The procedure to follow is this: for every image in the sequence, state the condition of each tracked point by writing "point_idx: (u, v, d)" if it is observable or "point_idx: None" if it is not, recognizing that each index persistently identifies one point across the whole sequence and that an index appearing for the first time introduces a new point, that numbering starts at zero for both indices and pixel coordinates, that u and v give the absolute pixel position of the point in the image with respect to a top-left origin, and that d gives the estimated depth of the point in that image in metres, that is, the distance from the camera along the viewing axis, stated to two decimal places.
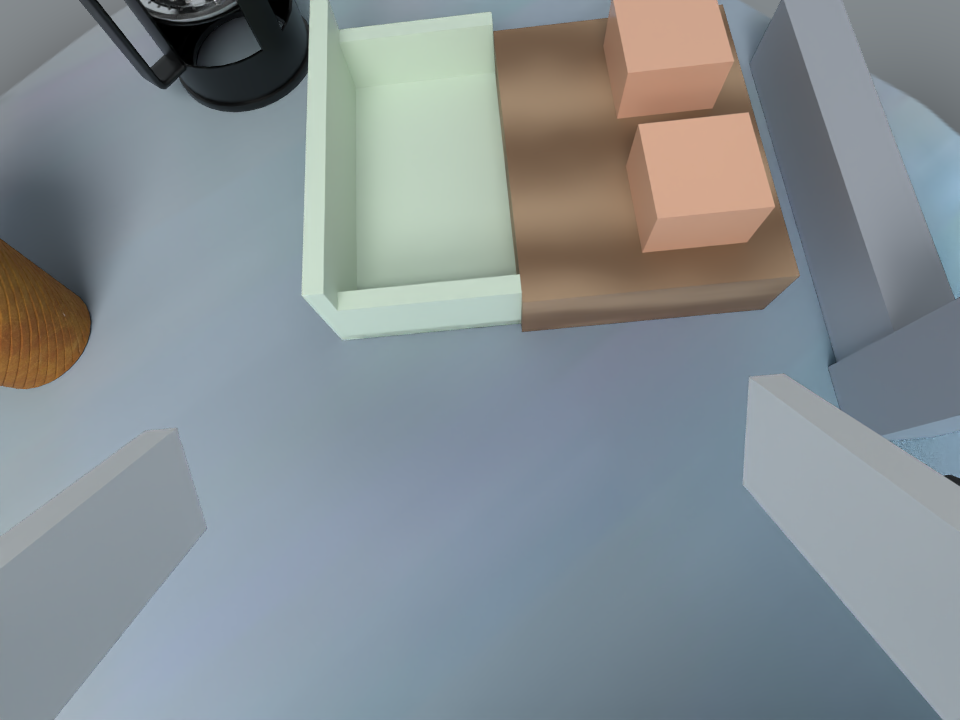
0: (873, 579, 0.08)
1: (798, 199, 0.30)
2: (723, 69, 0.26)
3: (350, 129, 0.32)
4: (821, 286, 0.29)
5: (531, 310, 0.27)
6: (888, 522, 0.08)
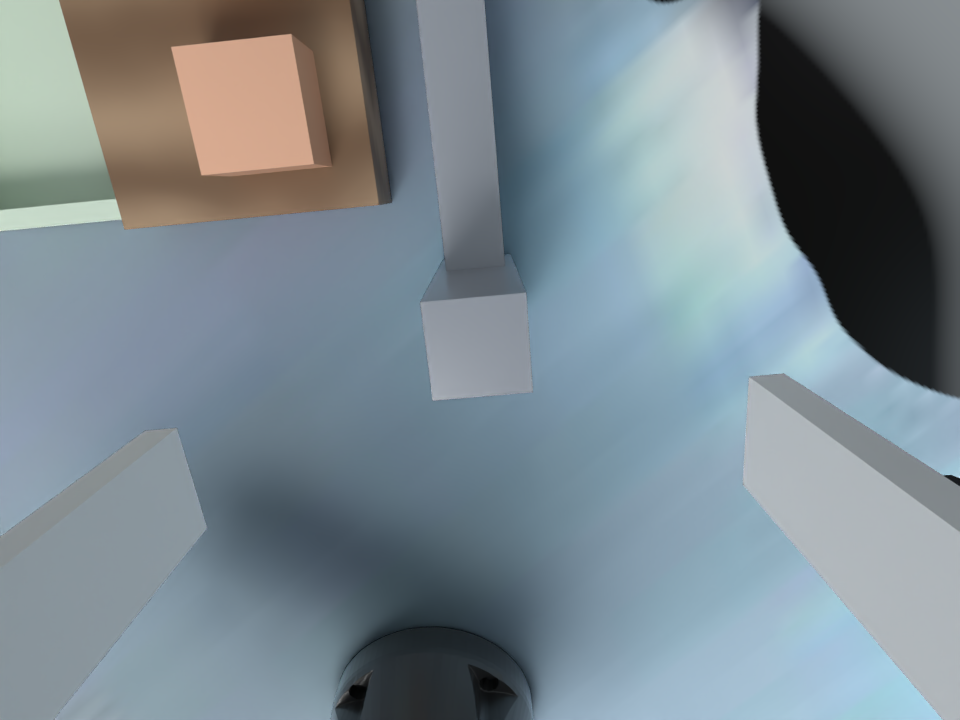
0: (873, 579, 0.08)
1: None
2: None
3: None
4: None
5: None
6: (888, 522, 0.08)
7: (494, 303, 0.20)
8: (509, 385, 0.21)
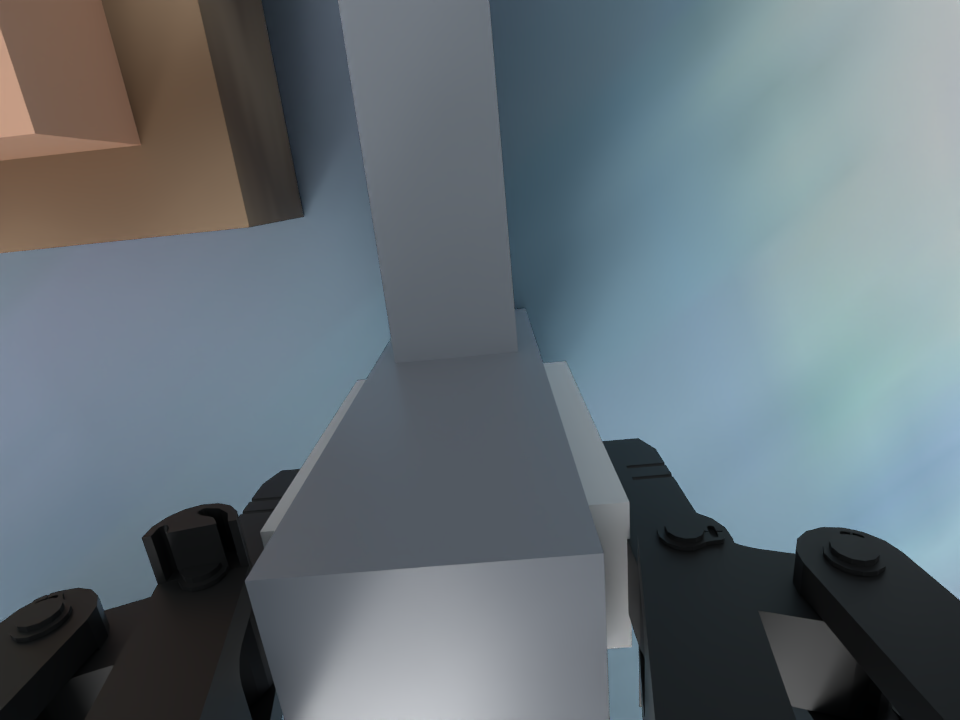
0: None
1: None
2: None
3: None
4: None
5: None
6: None
7: (494, 584, 0.06)
8: None
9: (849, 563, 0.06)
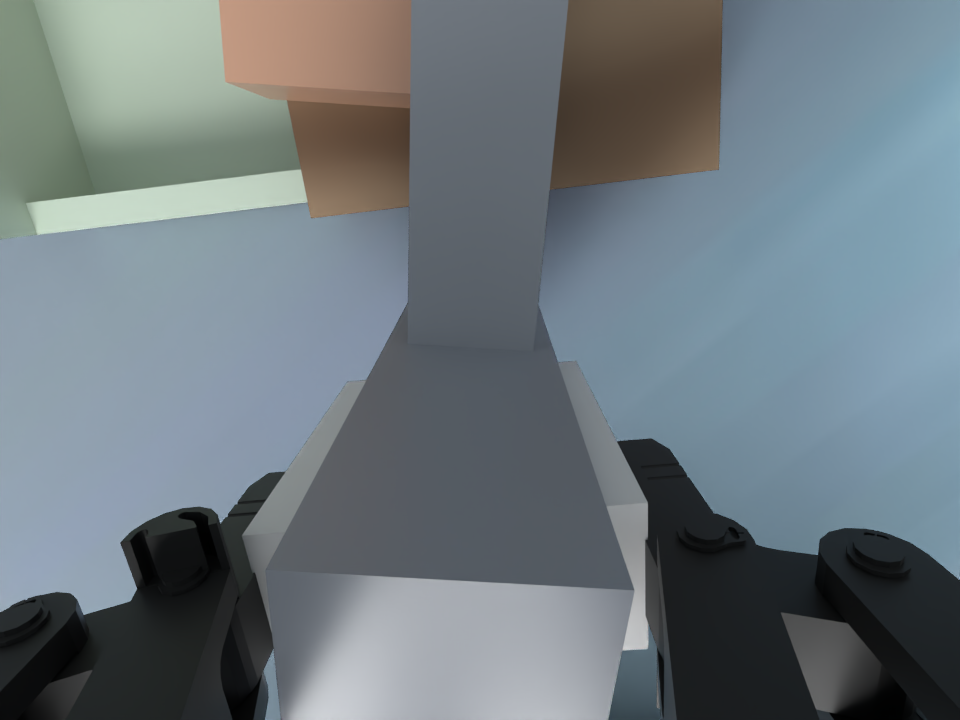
0: None
1: None
2: None
3: None
4: None
5: None
6: None
7: (518, 606, 0.06)
8: None
9: (873, 564, 0.06)
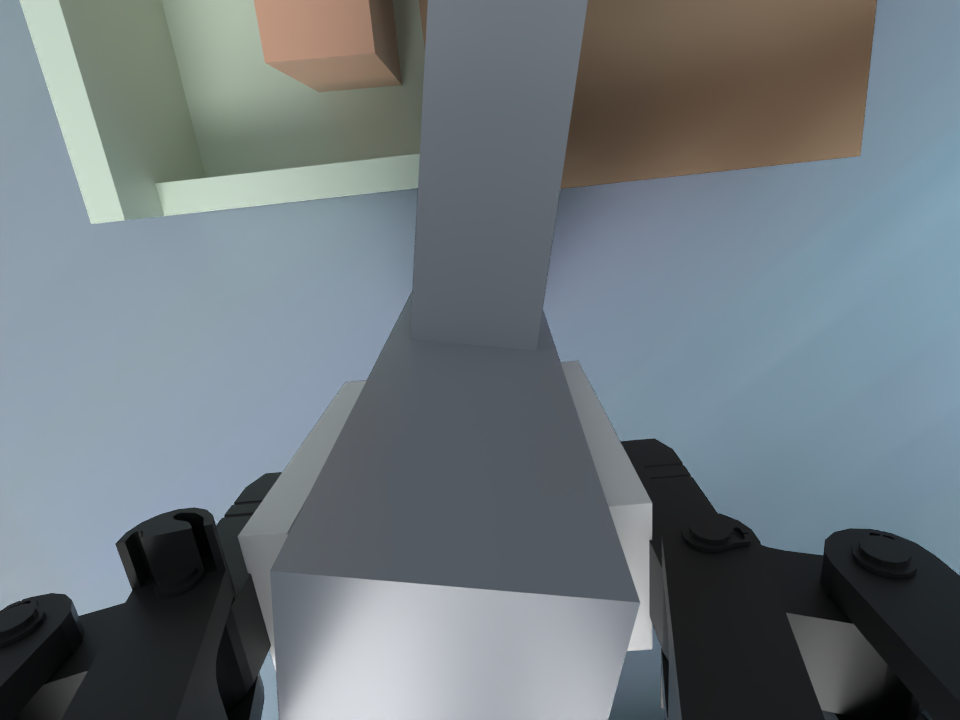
0: None
1: None
2: None
3: None
4: None
5: None
6: None
7: (524, 615, 0.06)
8: None
9: (879, 565, 0.06)
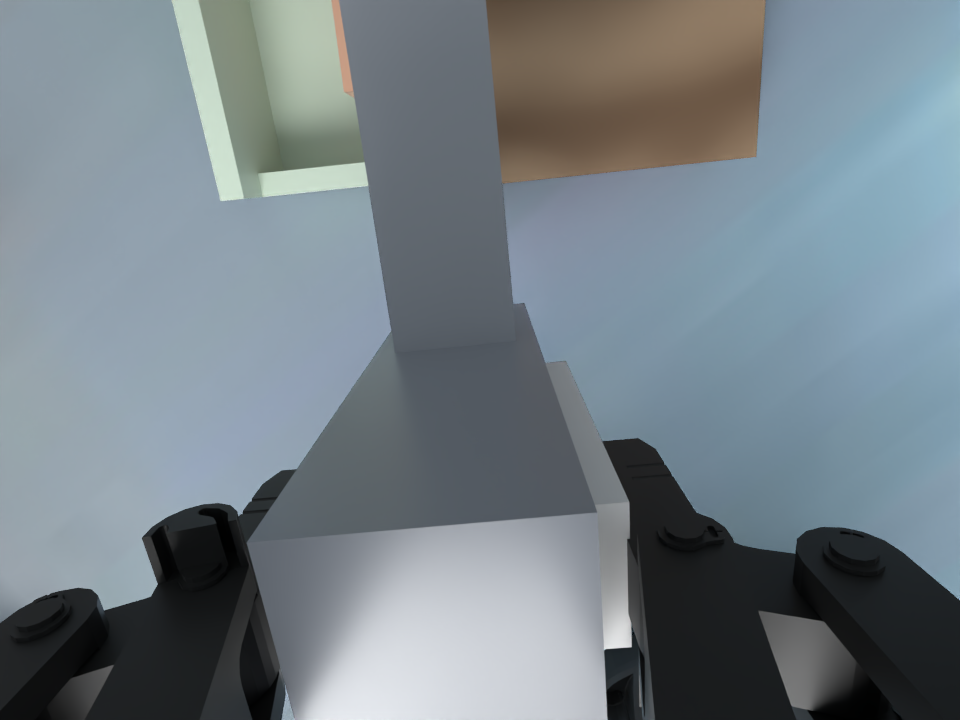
0: None
1: None
2: None
3: None
4: None
5: None
6: None
7: (490, 545, 0.06)
8: None
9: (849, 563, 0.06)
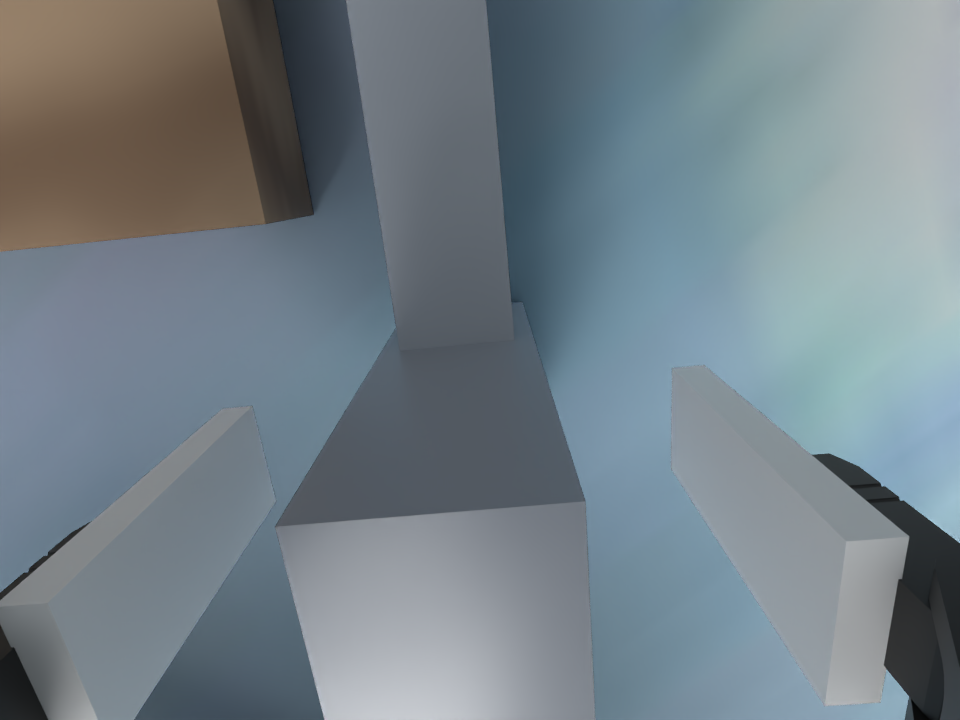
0: (753, 545, 0.09)
1: None
2: None
3: None
4: None
5: None
6: (761, 493, 0.09)
7: (490, 529, 0.07)
8: (534, 718, 0.08)
9: None
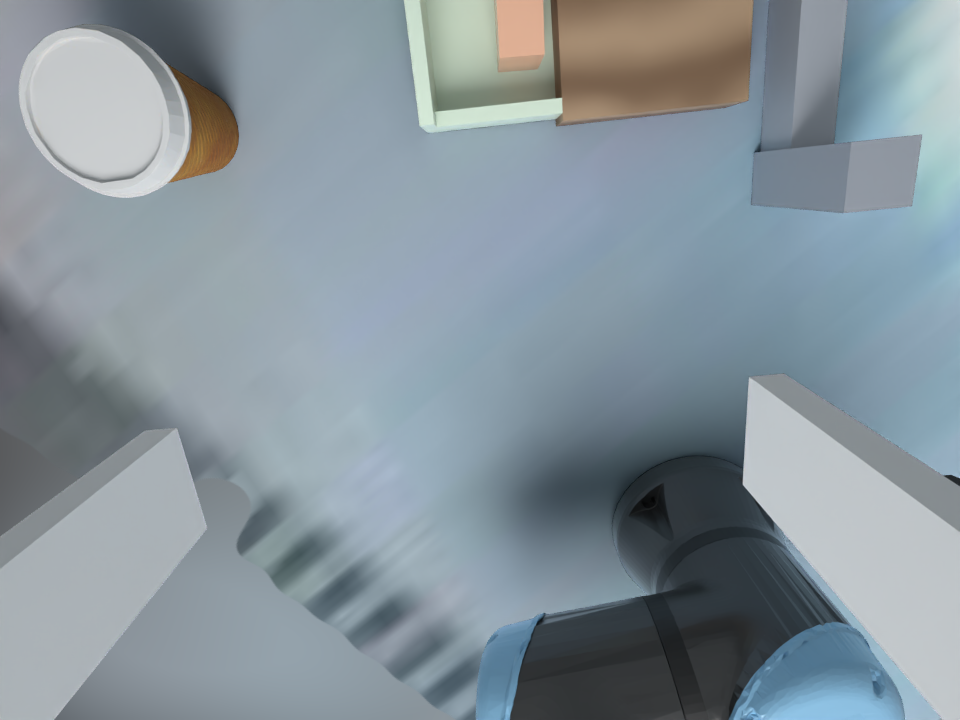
0: (873, 579, 0.08)
1: (773, 11, 0.39)
2: None
3: None
4: (767, 91, 0.41)
5: (567, 121, 0.39)
6: (888, 522, 0.08)
7: (899, 142, 0.31)
8: (897, 201, 0.32)
9: None
